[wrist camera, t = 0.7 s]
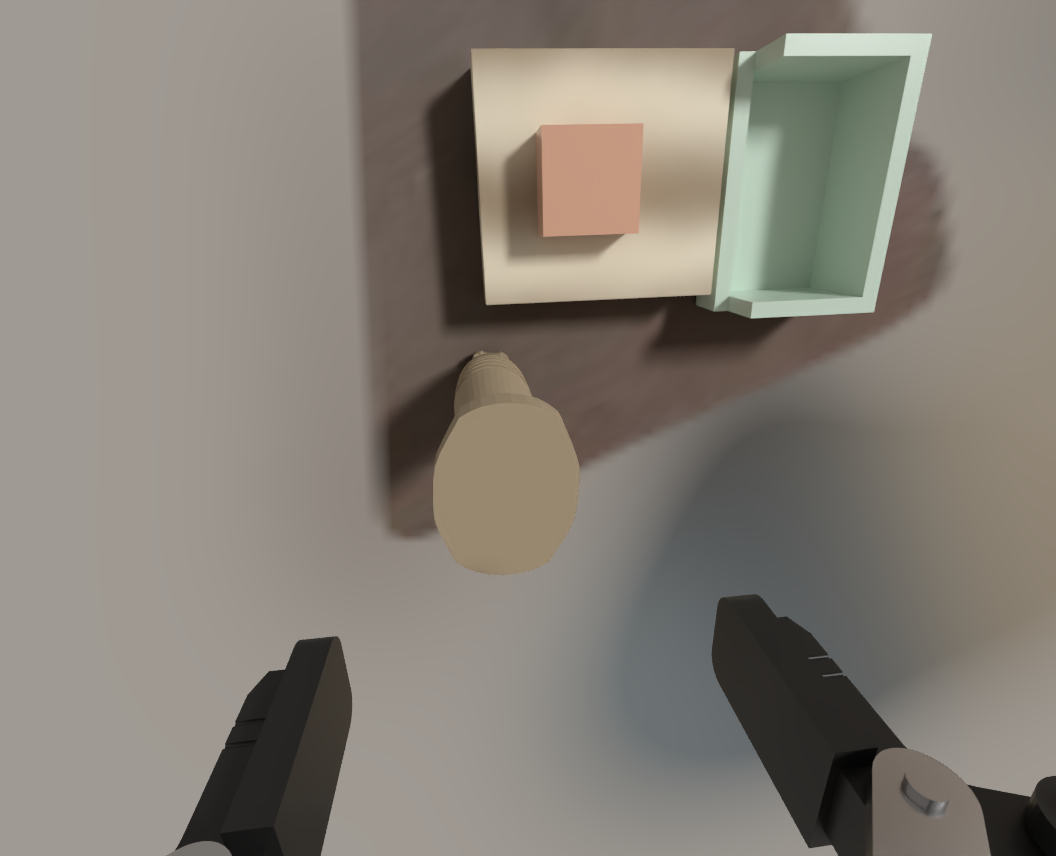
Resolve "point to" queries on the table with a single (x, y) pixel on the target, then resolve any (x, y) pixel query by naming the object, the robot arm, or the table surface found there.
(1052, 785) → the robot arm
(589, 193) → the tile
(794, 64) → the box
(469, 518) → the handle
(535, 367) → the table surface
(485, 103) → the cream flat slab
